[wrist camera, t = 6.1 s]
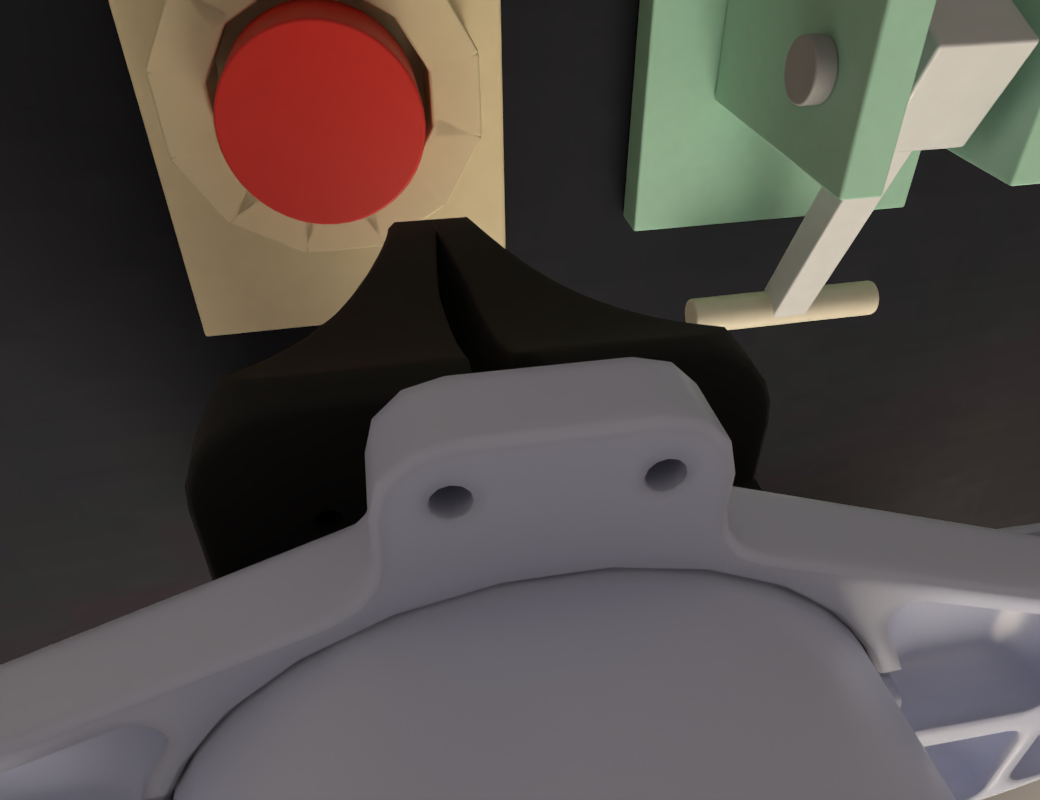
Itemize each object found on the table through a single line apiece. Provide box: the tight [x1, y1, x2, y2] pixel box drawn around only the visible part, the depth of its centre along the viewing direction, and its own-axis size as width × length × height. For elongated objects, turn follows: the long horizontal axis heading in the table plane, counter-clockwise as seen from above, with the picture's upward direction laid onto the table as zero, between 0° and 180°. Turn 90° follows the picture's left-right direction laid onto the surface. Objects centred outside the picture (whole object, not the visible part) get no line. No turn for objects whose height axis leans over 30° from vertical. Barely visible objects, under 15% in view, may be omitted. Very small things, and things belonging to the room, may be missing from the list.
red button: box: [213, 0, 426, 224], centre depth 18 cm, size 4×4×2 cm
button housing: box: [108, 0, 506, 336], centre depth 20 cm, size 12×9×4 cm
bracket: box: [624, 0, 1040, 231], centre depth 19 cm, size 12×9×8 cm
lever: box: [685, 0, 1039, 330], centre depth 21 cm, size 11×6×2 cm, turn 179°
